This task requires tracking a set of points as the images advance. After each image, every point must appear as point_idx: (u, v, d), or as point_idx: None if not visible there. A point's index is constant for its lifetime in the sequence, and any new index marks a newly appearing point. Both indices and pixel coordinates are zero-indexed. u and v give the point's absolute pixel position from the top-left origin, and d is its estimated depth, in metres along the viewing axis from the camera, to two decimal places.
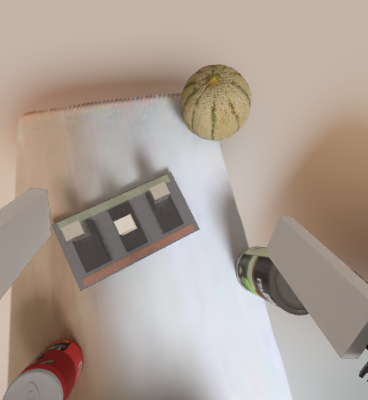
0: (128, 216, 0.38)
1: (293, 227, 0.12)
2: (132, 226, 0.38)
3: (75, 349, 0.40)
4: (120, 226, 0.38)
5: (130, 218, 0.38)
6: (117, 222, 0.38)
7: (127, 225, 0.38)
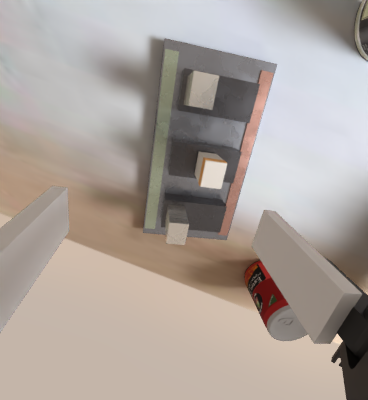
0: (207, 164, 0.24)
1: (275, 220, 0.12)
2: (223, 167, 0.24)
3: None
4: (212, 182, 0.25)
5: (212, 163, 0.24)
6: (204, 182, 0.25)
7: (217, 173, 0.24)
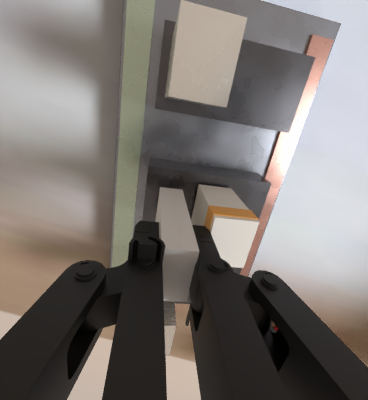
0: (218, 224, 0.11)
1: (173, 196, 0.13)
2: (251, 230, 0.12)
3: None
4: (227, 256, 0.12)
5: (227, 223, 0.11)
6: None
7: (238, 240, 0.12)
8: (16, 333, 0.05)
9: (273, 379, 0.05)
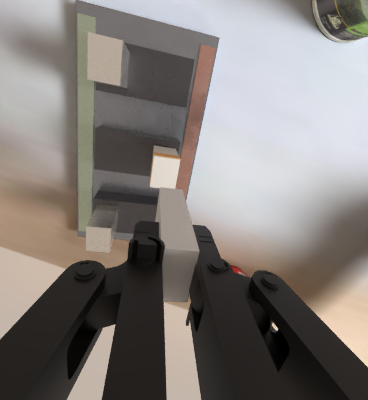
0: (156, 160, 0.20)
1: (173, 196, 0.13)
2: (176, 164, 0.20)
3: None
4: (163, 181, 0.21)
5: (161, 159, 0.20)
6: (154, 182, 0.21)
7: (169, 171, 0.20)
8: (16, 333, 0.05)
9: (273, 379, 0.05)
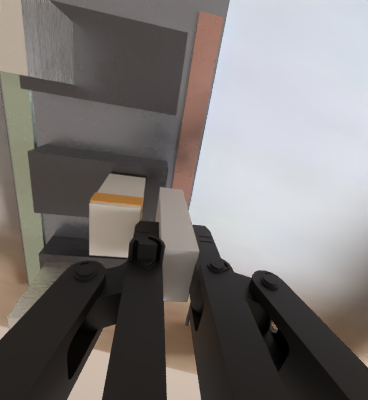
0: (94, 211, 0.11)
1: (173, 196, 0.13)
2: (134, 217, 0.11)
3: None
4: (114, 246, 0.12)
5: (105, 209, 0.11)
6: (97, 247, 0.12)
7: (122, 228, 0.11)
8: (16, 333, 0.05)
9: (273, 379, 0.05)
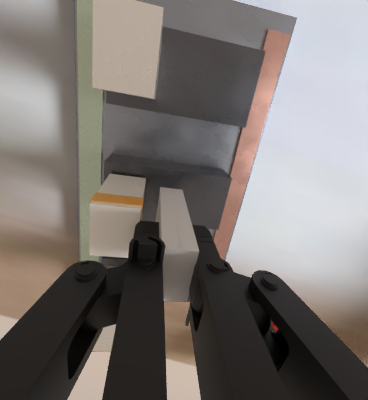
0: (95, 211, 0.11)
1: (173, 196, 0.13)
2: (134, 217, 0.11)
3: None
4: (114, 246, 0.12)
5: (105, 209, 0.11)
6: (97, 247, 0.11)
7: (122, 228, 0.11)
8: (16, 333, 0.05)
9: (273, 379, 0.05)
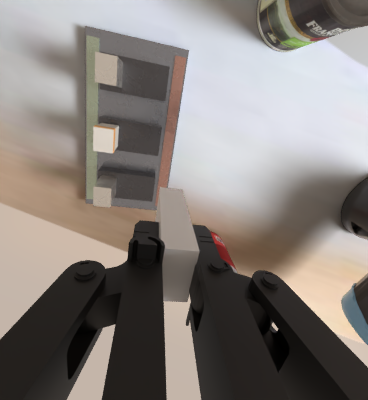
0: (95, 130, 0.28)
1: (174, 196, 0.13)
2: (111, 133, 0.28)
3: None
4: (103, 146, 0.29)
5: (99, 129, 0.28)
6: (96, 147, 0.28)
7: (106, 138, 0.28)
8: (16, 333, 0.05)
9: (273, 379, 0.05)
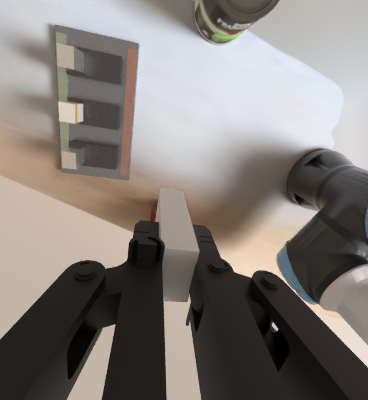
0: (60, 104, 0.36)
1: (173, 196, 0.13)
2: (72, 107, 0.36)
3: None
4: (67, 118, 0.37)
5: (63, 104, 0.36)
6: (61, 118, 0.36)
7: (69, 111, 0.36)
8: (16, 333, 0.05)
9: (273, 379, 0.05)
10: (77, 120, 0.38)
